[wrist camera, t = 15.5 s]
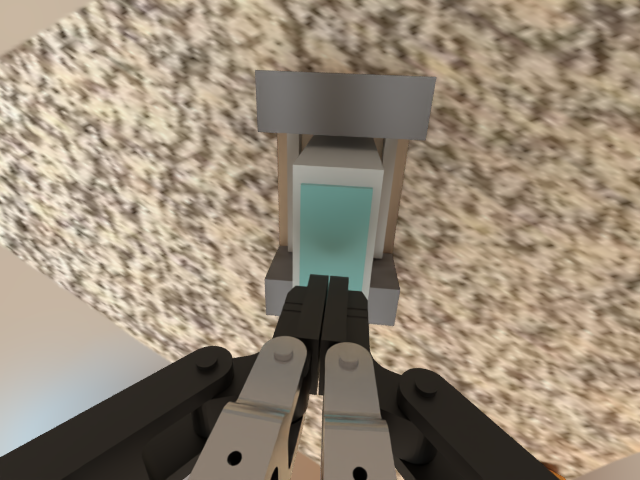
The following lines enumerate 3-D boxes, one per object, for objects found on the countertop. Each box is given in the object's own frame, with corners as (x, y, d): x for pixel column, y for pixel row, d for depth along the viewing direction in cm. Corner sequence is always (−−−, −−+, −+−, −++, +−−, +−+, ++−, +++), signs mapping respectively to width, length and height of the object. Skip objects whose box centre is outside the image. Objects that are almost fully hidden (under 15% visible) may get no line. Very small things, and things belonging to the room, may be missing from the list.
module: (373, 137, 22) (384, 171, 14) (362, 242, 26) (366, 320, 18) (314, 134, 23) (291, 166, 14) (311, 239, 26) (291, 313, 18)
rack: (414, 77, 22) (436, 77, 16) (385, 276, 29) (394, 325, 23) (280, 72, 23) (255, 70, 17) (283, 268, 29) (266, 314, 24)
